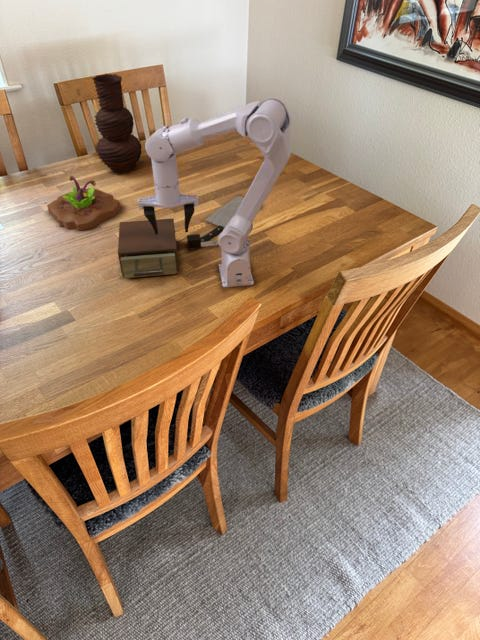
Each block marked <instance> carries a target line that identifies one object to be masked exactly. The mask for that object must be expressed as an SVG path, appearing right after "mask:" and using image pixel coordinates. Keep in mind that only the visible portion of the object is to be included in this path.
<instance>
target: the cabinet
mask: <svg viewBox="0 0 480 640" xmlns="http://www.w3.org/2000/svg"><path fill="white" fill-rule="evenodd" d="M156 222H157V228H158V234H155V232H154V229H153V227H152V225H151V223H150V222H149V220H148V219H147V220H133V221H119V225H118V241H117V242H118V243H117V256H118V261H119V266H120V270H121V276H122V278H124V274H123V269H122V264H121V257H124V255H133V254H145V253H157V252H170V251H172V253H175V261H176V271H177V273H179V272H180V268H179V260H178V259H179V258H178V249H177V239H176V229H175V219H174V217H173V218H160V219H159V218H158V219H156Z"/></svg>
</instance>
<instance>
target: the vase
mask: <svg viewBox="0 0 480 640" xmlns="http://www.w3.org/2000/svg"><path fill="white" fill-rule="evenodd" d="M91 79H92V80H93V84H94V87H95V92H96V95H97V99H98V103H99V104H98V107H100V108H99V109H98V111H97V112H96V113H95V115H94V118H95V120H94V122H95V123H94V124H95V125H96V128H97V129H98V130H97V132H99V134H100V135H101V136H102V137H101V138H99V139H98V142H97V143H96V147H95V149H96V153H97V156H98V158H99V159H100V160H101V163H103V164H104V165H105V166H107V168H109V169H110V170H111V172H112V173H114V174H119V175H122V174H128V173H130V172H132V171H134V169H135V166H136V165H137V163H138V162H139V160H140V159H141V155H142V143H141V142H140V139H139V138H138V137H137V136H135V135H134V134H132V133H133V130H134V125H135V124H134V116H133V115H132V112H131V111H130V110H129V108H127V107H125V105H124V97H123V86H122V79H123V77H122V76H121V75H118V74H116V73H114V74H113V73H104V74H99V75H96V76H93V77H92V78H91Z"/></svg>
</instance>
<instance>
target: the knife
mask: <svg viewBox="0 0 480 640" xmlns="http://www.w3.org/2000/svg"><path fill="white" fill-rule="evenodd" d="M200 238H201V234H200V233H196V234H194V233H193V234H187V235H186V240H187V249H188V250H191V249H192V250H193V249H201V248H209V247H218V246H219V244H218V240H209V241H207V242H201V239H200Z"/></svg>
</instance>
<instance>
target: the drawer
mask: <svg viewBox="0 0 480 640" xmlns="http://www.w3.org/2000/svg"><path fill="white" fill-rule="evenodd" d="M121 264H122V269H123V274H124V277H123V278H124V279H131V278H142V277H153V276H154V277H155V276H166V275H176V274H177V273H178V272H177V271H176V261H175V253H172V251H170V252H157V253H145V254H133V255H124V257H121Z"/></svg>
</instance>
